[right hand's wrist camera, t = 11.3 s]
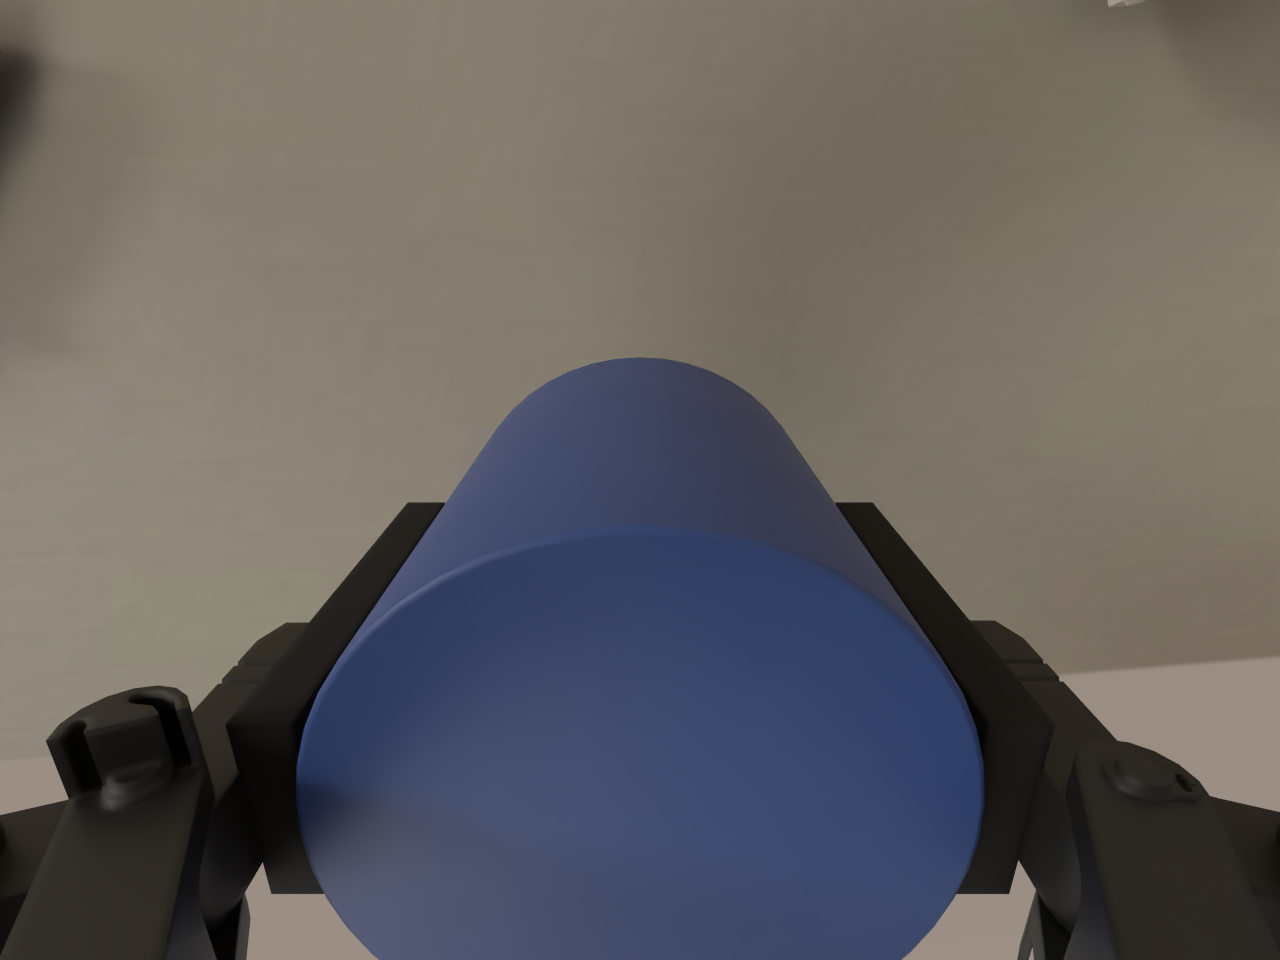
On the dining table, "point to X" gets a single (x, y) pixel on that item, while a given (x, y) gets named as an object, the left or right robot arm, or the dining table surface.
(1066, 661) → the dining table surface
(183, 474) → the dining table surface
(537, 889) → the can
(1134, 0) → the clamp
